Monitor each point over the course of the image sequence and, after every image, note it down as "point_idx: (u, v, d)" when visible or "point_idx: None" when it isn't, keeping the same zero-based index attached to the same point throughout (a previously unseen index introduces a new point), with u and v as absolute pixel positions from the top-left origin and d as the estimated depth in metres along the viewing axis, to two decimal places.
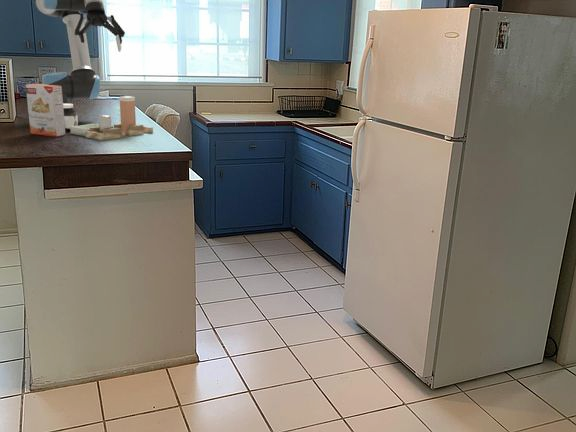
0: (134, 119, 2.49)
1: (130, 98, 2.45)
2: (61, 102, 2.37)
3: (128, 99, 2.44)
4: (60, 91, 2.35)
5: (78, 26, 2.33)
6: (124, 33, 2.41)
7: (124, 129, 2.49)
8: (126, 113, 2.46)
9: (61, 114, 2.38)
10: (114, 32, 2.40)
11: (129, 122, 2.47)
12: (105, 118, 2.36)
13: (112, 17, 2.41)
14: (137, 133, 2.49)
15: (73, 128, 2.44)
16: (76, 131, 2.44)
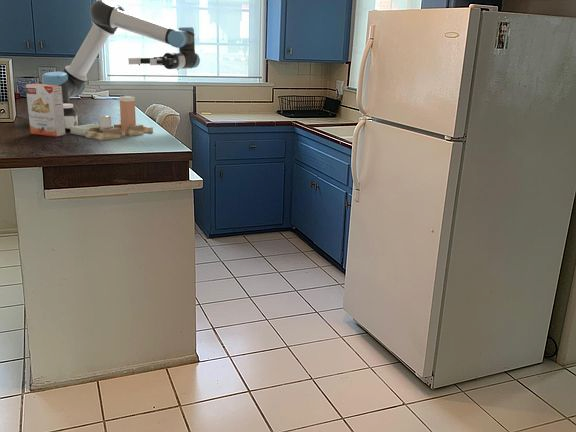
0: (134, 119, 2.49)
1: (130, 98, 2.45)
2: (61, 102, 2.37)
3: (128, 99, 2.44)
4: (60, 91, 2.35)
5: (169, 64, 2.56)
6: None
7: (124, 129, 2.49)
8: (126, 113, 2.46)
9: (61, 114, 2.38)
10: (144, 61, 2.62)
11: (129, 122, 2.47)
12: (105, 118, 2.36)
13: None
14: (137, 133, 2.49)
15: (73, 128, 2.44)
16: (76, 131, 2.44)
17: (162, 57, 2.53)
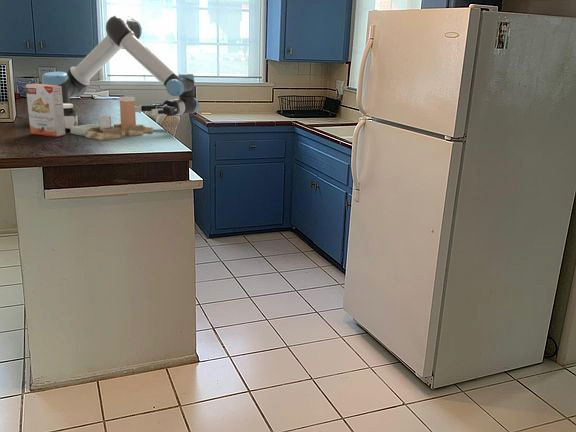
0: (134, 119, 2.49)
1: (130, 98, 2.45)
2: (61, 102, 2.37)
3: (128, 99, 2.44)
4: (60, 91, 2.35)
5: None
6: None
7: (124, 129, 2.49)
8: (126, 113, 2.46)
9: (61, 114, 2.38)
10: (144, 109, 2.64)
11: (129, 122, 2.47)
12: (105, 118, 2.36)
13: None
14: (137, 133, 2.49)
15: (73, 128, 2.44)
16: (76, 131, 2.44)
17: (163, 107, 2.55)
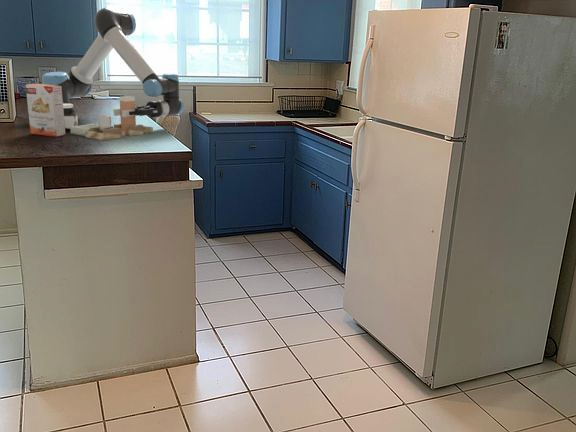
0: (134, 119, 2.49)
1: (130, 98, 2.45)
2: (61, 102, 2.37)
3: (128, 99, 2.44)
4: (60, 91, 2.35)
5: None
6: None
7: (124, 129, 2.49)
8: None
9: (61, 114, 2.38)
10: None
11: (129, 122, 2.47)
12: (105, 118, 2.36)
13: None
14: (137, 133, 2.49)
15: (73, 128, 2.44)
16: (76, 131, 2.44)
17: (135, 108, 2.47)
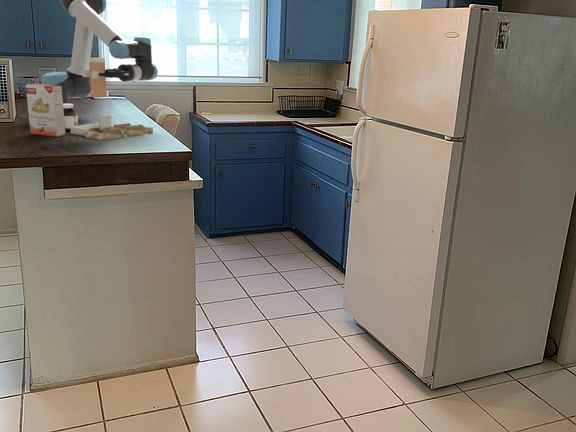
0: (104, 81, 2.43)
1: (100, 59, 2.38)
2: (61, 102, 2.37)
3: (98, 60, 2.37)
4: (60, 91, 2.35)
5: None
6: None
7: (94, 91, 2.42)
8: None
9: (61, 114, 2.38)
10: None
11: (98, 84, 2.40)
12: (105, 118, 2.36)
13: None
14: (137, 133, 2.49)
15: (73, 128, 2.44)
16: (76, 131, 2.44)
17: (105, 69, 2.40)
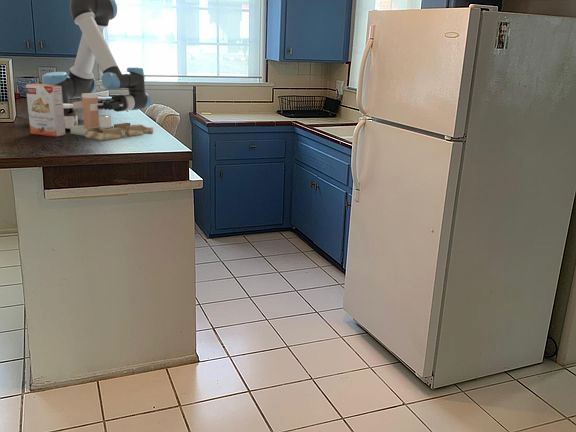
0: (97, 116, 2.47)
1: (92, 95, 2.43)
2: (61, 102, 2.37)
3: (90, 96, 2.42)
4: (60, 91, 2.35)
5: None
6: None
7: (87, 126, 2.46)
8: (88, 110, 2.43)
9: (61, 114, 2.38)
10: None
11: (91, 119, 2.44)
12: (105, 118, 2.36)
13: None
14: (137, 133, 2.49)
15: (73, 128, 2.44)
16: (76, 131, 2.44)
17: (103, 102, 2.44)
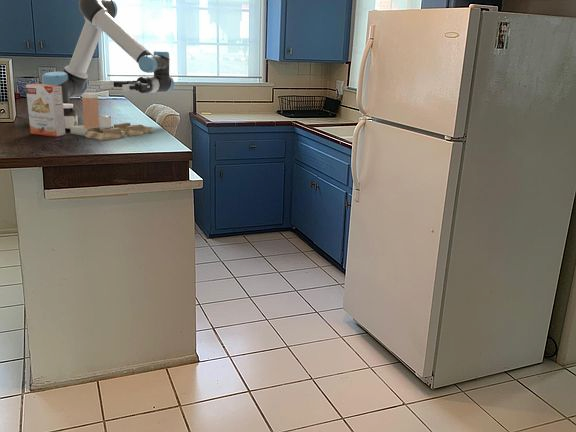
0: (97, 116, 2.47)
1: (92, 95, 2.43)
2: (61, 102, 2.37)
3: (90, 96, 2.42)
4: (60, 91, 2.35)
5: None
6: None
7: (87, 126, 2.46)
8: (88, 110, 2.43)
9: (61, 114, 2.38)
10: (117, 85, 2.62)
11: (91, 119, 2.44)
12: (105, 118, 2.36)
13: None
14: (137, 133, 2.49)
15: (73, 128, 2.44)
16: (76, 131, 2.44)
17: (135, 83, 2.53)
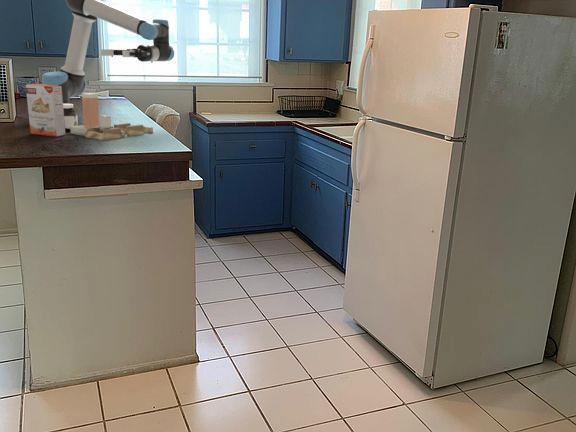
0: (97, 116, 2.47)
1: (92, 95, 2.43)
2: (61, 102, 2.37)
3: (90, 96, 2.42)
4: (60, 91, 2.35)
5: (142, 56, 2.54)
6: None
7: (87, 126, 2.46)
8: (88, 110, 2.43)
9: (61, 114, 2.38)
10: (117, 53, 2.60)
11: (91, 119, 2.44)
12: (105, 118, 2.36)
13: None
14: (137, 133, 2.49)
15: (73, 128, 2.44)
16: (76, 131, 2.44)
17: (135, 49, 2.51)
